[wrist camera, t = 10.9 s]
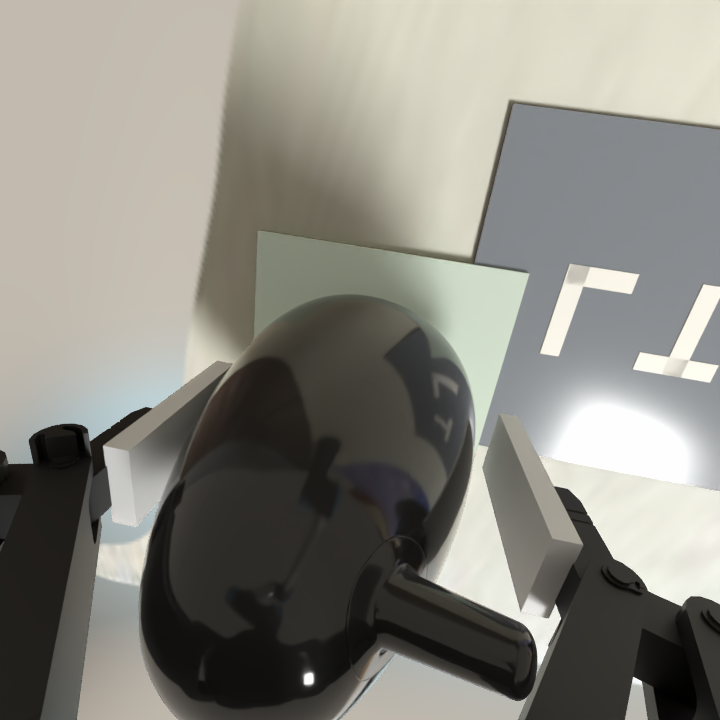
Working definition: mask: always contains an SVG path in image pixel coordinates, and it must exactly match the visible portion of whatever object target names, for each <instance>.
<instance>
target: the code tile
mask: <svg viewBox="0 0 720 720" xmlns="http://www.w3.org/2000/svg"><path fill="white" fill-rule="evenodd" d="M474 265H480V266H486V267H492V268H499V269H505V270H511V271H518V272H524V273H529V277H528V280H527V284H526V287H525V291H524V294H523V297H522V301H521V304H520V307H519V311H518V314H517V317H516V321H515V324H514V327H513V331H512V334H511V337H510V341H509V344H508V347H507V351H506V354H505V357H504V361H503V364H502V367H501V371H500V374H499V377H498V381H497V384H496V387H495V391H494V394H493V397H492V401H491V404H490V407H489V411H488V414H487V417H486V421H485V424H484V427H483V431H482V434H481V437H480V441H479V444H478V445H482V446H487V447H489V445H490V441H491V438H492V435H493V432H494V429H495V425H496V422H497V419H498V416H499V413H502V414H507V415H513V416H518V417H519V419H520V421H521V423H522V425H523V427H524V429H525V431H526V433H527V435H528V437H529V439H530V441H531V443H532V445H533V447H534V449H535V451H536V453H537V455H538V456H540V457H545V458H550V459H555V460H560V461H566V462H571V463H576V464H581V465H587V466H592V467H597V468H602V469H607V470H613V471H618V472H623V473H628V474H633V475H639V476H644V477H649V478H654V479H660V480H665V481H670V482H675V483H680V484H686V485H691V486H696V487H701V488H707V489H712V490H717V491H720V129H712V128H704V127H696V126H688V125H680V124H672V123H664V122H656V121H649V120H641V119H633V118H625V117H617V116H609V115H601V114H593V113H585V112H577V111H570V110H562V109H554V108H546V107H538V106H530V105H522V104H513V105H512V109H511V114H510V118H509V122H508V126H507V130H506V134H505V138H504V142H503V146H502V150H501V155H500V159H499V163H498V167H497V171H496V175H495V179H494V183H493V187H492V191H491V196H490V200H489V204H488V208H487V212H486V216H485V220H484V224H483V228H482V232H481V237H480V241H479V245H478V249H477V253H476V257H475V261H474Z"/></svg>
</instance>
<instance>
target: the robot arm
mask: <svg viewBox="0 0 720 720" xmlns="http://www.w3.org/2000/svg"><path fill="white" fill-rule="evenodd" d="M231 366H232V363H226V362H221V361H216V362H215V363H213V364H212V365H211V366H209V367H208V368H207V369H205V370H204V371H203V372H201V373H200V374H199V375H197V376H196V377H195V378H193V379H192V380H191V381H189V382H188V383H187V384H185V385H184V386H183V387H181V388H180V389H179V390H177V391H176V392H175V393H173V394H172V395H170V396H169V397H168V398H167V399H165V400H164V401H162V402H161V403H160V404H158V405H157V406H156V407H154V408H148V407H145V408H142V409H140V410H137V411H134V412H132V413H130V414H129V415H127V416H126V417H124V418H123V419H121V420H120V422H117V423H116V424H115V425H113V426H112V427H111V428H110V429H107V430H106V431H105V432H103V433H102V434H100V435H99V436H97V437H96V438H94V439H93V440H92V441H89V434H88V429H87V428H86V427H84V426H82V425H78V424H60V425H55V426H51V427H48V428H45V429H43V430H40V431H39V432H37V433H35V434H33V436H32V437H31V438H30V439H29V445H30V449H31V454H32V459H33V463H34V464H8V461H7V457H6V454H5V452H3V451H1V450H0V720H77V713H78V706H79V698H80V691H81V683H82V675H83V667H84V659H85V652H86V644H87V637H88V628H89V621H90V613H91V606H92V598H93V590H94V582H95V575H96V567H97V559H98V552H99V544H100V536H101V528H102V524H101V516H102V515H103V514H104V513H105V512H106V511H107V510H108V509H109V508H110V507H111V512H112V520H113V522H116V523H121V524H125V525H129V526H134V527H137V526H138V525H139V524H140V523H141V521H142V520H143V519H144V518H145V517H146V516H147V515H148V513H149V512H150V511H151V510H152V509H153V508H154V507H155V506H156V505H157V503H158V502H159V501H160V500H161V497H162V494H163V491H164V489H165V486H166V484H167V481H168V479H169V476H170V474H171V471H172V469H173V466H174V464H175V462H176V460H177V457H178V455H179V453H180V451H181V449H182V447H183V445H184V443H185V441H186V439H187V437H188V435H189V433H190V431H191V429H192V427H193V425H194V423H195V421H196V419H197V417H198V416H199V414H200V412H201V410H202V409H203V407H204V405H205V404H206V402H207V400H208V399H209V397H210V395H211V394H212V392H213V391H214V389H215V388H216V386H217V385H218V383H219V382H220V380H221V379H222V377H223V376H224V375H225V373H226V372H227V371H228V369H229V368H230V367H231ZM482 468H483V472H484V476H485V479H486V483H487V487H488V491H489V494H490V498H491V502H492V506H493V509H494V513H495V517H496V521H497V525H498V528H499V532H500V536H501V540H502V543H503V547H504V551H505V555H506V558H507V562H508V566H509V570H510V573H511V577H512V581H513V585H514V588H515V592H516V596H517V600H518V603H519V607H520V611H521V612H522V613H526V614H531V615H535V616H540V617H544V618H549V617H550V615H551V612H552V610H553V608H554V606H555V604H556V605H557V608H558V611H559V614H560V616H561V620H560V622H559V624H558V626H557V628H556V631H555V633H554V635H553V637H552V639H551V641H550V643H549V645H548V646H549V648H548V650H547V652H546V655H545V657H544V659H543V662H542V664H541V667H540V669H539V671H538V674H537V676H536V680H535V684H534V687H533V689H532V691H531V693H530V694H529V695H528V697H527V700H526V702H525V704H524V707H523V709H522V712H521V714H520V717H519V719H518V720H625V715H626V710H627V705H628V700H629V695H630V689H631V684H632V679H633V677H635V678H637V679H639V680H641V681H642V684H643V690H644V697H645V704H646V710H647V717H648V720H720V605H719V604H718V603H716V602H714V601H712V600H709V599H706V598H703V597H694V596H691V597H690V598H688V599H687V600H686V601H685V603H684V604H683V606H682V607H681V606H679V605H677V604H675V603H672V602H670V601H668V600H666V599H663V598H661V597H659V596H657V595H654V594H652V593H650V592H649V591H647V587H646V586H645V584H644V582H643V581H642V579H641V578H640V577H639V576H638V575H637V574H636V573H635V572H634V571H633V570H631V569H630V568H629V567H627V566H626V565H624V564H623V563H621V562H619V561H617V560H614V559H613V557H612V555H611V554H610V552H609V550H608V548H607V547H606V545H605V543H604V541H603V540H602V538H601V536H600V534H599V533H598V531H597V529H596V527H595V526H593V522H592V521H591V519H590V517H589V516H588V515H587V512H586V510H585V508H584V507H583V505H582V503H581V501H580V500H579V499H578V498H577V497H576V496H575V495H573V494H572V493H571V492H570V491H569V490H568V489H565V488H560V487H554V486H553V484H552V482H551V480H550V478H549V476H548V474H547V472H546V470H545V468H544V466H543V464H542V462H541V461H540V459H539V457H538V455H537V453H536V451H535V449H534V447H533V445H532V443H531V441H530V439H529V437H528V435H527V433H526V431H525V429H524V427H523V425H522V423H521V421H520V419H519V417H518V416H513V415H507V414H502V413H499V416H498V419H497V422H496V425H495V429H494V432H493V435H492V438H491V441H490V445H489V448H488V451H487V454H486V457H485V461H484V464H483V467H482Z"/></svg>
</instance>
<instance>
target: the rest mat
mask: <svg viewBox="0 0 720 720" xmlns="http://www.w3.org/2000/svg"><path fill="white" fill-rule="evenodd" d="M528 277H529V273H524V272H518V271H511V270H505V269H499V268H492V267H486V266H480V265H474V264H470V263H463V262H457V261H451V260H444V259H438V258H432V257H425V256H419V255H413V254H406V253H400V252H394V251H387V250H381V249H375V248H368V247H362V246H356V245H349V244H343V243H337V242H330V241H324V240H318V239H311V238H305V237H299V236H292V235H286V234H280V233H273V232H267V231H258V234H257V260H256V286H255V312H254V338H253V340H254V339H255V338H256V337H257V336H258V335H259V334H260V333H261V332H262V331H263V330H264V329H265V328H266V327H267V326H268V325H269V324H271V323H272V322H273V321H274V320H276V319H277V318H279V317H280V316H281V315H283V314H284V313H286V312H288V311H289V310H291V309H293V308H295V307H297V306H299V305H301V304H303V303H305V302H308V301H311V300H314V299H317V298H321V297H325V296H331V295H341V294H357V295H366V296H372V297H377V298H381V299H384V300H388V301H391V302H394V303H396V304H398V305H401V306H403V307H405V308H407V309H409V310H411V311H412V312H414V313H416V314H417V315H419V316H420V317H422V318H423V319H425V320H426V321H427V322H429V323H430V324H431V325H432V326H433V327H435V328H436V329H437V330H438V331H439V332H440V333H441V334H442V335H443V336H444V337H445V339H446V340H447V341H448V342H449V343H450V345H451V346H452V347H453V349H454V350H455V352H456V354H457V355H458V357H459V359H460V360H461V362H462V364H463V366H464V369H465V371H466V373H467V376H468V379H469V382H470V386H471V390H472V395H473V400H474V407H475V421H476V430H475V446H474V457H475V454H476V451H477V447H478V444H479V441H480V437H481V434H482V431H483V427H484V424H485V421H486V417H487V414H488V411H489V407H490V404H491V401H492V397H493V394H494V391H495V387H496V384H497V381H498V377H499V374H500V371H501V367H502V364H503V361H504V357H505V354H506V351H507V347H508V344H509V341H510V337H511V334H512V331H513V327H514V324H515V321H516V317H517V314H518V311H519V307H520V304H521V301H522V297H523V294H524V291H525V287H526V284H527V280H528ZM474 457H473V461H474Z"/></svg>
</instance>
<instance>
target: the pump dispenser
mask: <svg viewBox="0 0 720 720" xmlns="http://www.w3.org/2000/svg"><path fill="white" fill-rule="evenodd" d="M475 430H476V421H475V407H474V400H473V395H472V390H471V386H470V382H469V379H468V376H467V373H466V371H465V369H464V366H463V364H462V362H461V360H460V359H459V357H458V355H457V354H456V352H455V350H454V349H453V347H452V346H451V345H450V343H449V342H448V341H447V340H446V339H445V337H444V336H443V335H442V334H441V333H440V332H439V331H438V330H437V329H436V328H435V327H433V326H432V325H431V324H430V323H429V322H427V321H426V320H425V319H423V318H422V317H420V316H419V315H417V314H416V313H414V312H412V311H411V310H409V309H407V308H405V307H403V306H401V305H398V304H396V303H394V302H391V301H388V300H384V299H381V298H377V297H372V296H366V295H357V294H341V295H331V296H325V297H321V298H317V299H314V300H311V301H308V302H305V303H303V304H301V305H299V306H297V307H295V308H293V309H291V310H289V311H288V312H286V313H284V314H283V315H281V316H280V317H279V318H277V319H276V320H274V321H273V322H272V323H271V324H269V325H268V326H267V327H266V328H265V329H264V330H263V331H262V332H261V333H260V334H259V335H258V336H257V337H256V338H255V339H254V340H253V341H252V342H251V343H250V344H249V345H248V346H247V348H246V349H245V350H244V351H243V352H242V353H241V355H240V356H239V357H238V358H237V359H236V361H235V362H234V363H233V364H232V366H231V367H230V368H229V369H228V371H227V372H226V373H225V375H224V376H223V377H222V379H221V380H220V382H219V383H218V385H217V386H216V388H215V389H214V391H213V392H212V394H211V395H210V397H209V399H208V400H207V402H206V404H205V405H204V407H203V409H202V410H201V412H200V414H199V416H198V417H197V419H196V421H195V423H194V425H193V427H192V429H191V431H190V433H189V435H188V437H187V439H186V441H185V443H184V445H183V447H182V449H181V451H180V453H179V455H178V457H177V460H176V462H175V464H174V466H173V469H172V471H171V474H170V476H169V479H168V481H167V484H166V486H165V489H164V491H163V494H162V497H161V500H160V503H159V506H158V509H157V512H156V515H155V518H154V521H153V525H152V528H151V532H150V536H149V540H148V544H147V549H146V553H145V558H144V564H143V570H142V576H141V583H140V591H139V601H138V633H139V642H140V648H141V653H142V657H143V660H144V664H145V667H146V670H147V672H148V675H149V677H150V679H151V681H152V683H153V685H154V687H155V689H156V691H157V693H158V694H159V696H160V697H161V699H162V700H163V702H164V703H165V705H166V706H167V707H168V709H169V710H170V711H171V712H172V713H173V714H174V716H175V717H176V718H177V719H178V720H340V719H341V718H342V717H343V716H344V715H345V714H346V713H347V712H348V711H349V710H350V709H351V708H352V707H353V706H354V705H355V704H356V703H357V702H358V701H359V700H360V699H361V698H362V697H363V696H364V694H365V693H366V692H367V691H368V690H369V689H370V688H371V687H372V685H373V684H374V683H375V682H376V681H377V679H378V678H379V676H381V675H382V673H383V672H384V671H385V669H386V668H387V667H388V665H389V664H390V663H391V661H392V660H393V659H394V657H395V656H396V654H398V655H401V656H403V657H406V658H408V659H411V660H413V661H416V662H419V663H421V664H424V665H426V666H429V667H431V668H434V669H436V670H439V671H441V672H444V673H446V674H449V675H451V676H454V677H456V678H459V679H461V680H464V681H466V682H469V683H472V684H474V685H477V686H479V687H482V688H484V689H487V690H489V691H492V692H494V693H497V694H499V695H502V696H505V697H507V698H509V699H512V700H515V701H521V700H523V699H525V698H526V697H527V696H528V695H529V694H530V693H531V691H532V689H533V687H534V684H535V680H536V672H537V649H536V644H535V641H534V638H533V636H532V634H531V633H530V631H529V630H528V628H527V627H526V626H524V625H523V624H522V623H520V622H518V621H516V620H513V619H511V618H509V617H507V616H505V615H503V614H501V613H498V612H496V611H494V610H492V609H490V608H487V607H485V606H483V605H481V604H479V603H477V602H474V601H472V600H470V599H468V598H466V597H464V596H461V595H459V594H457V593H455V592H453V591H451V590H448V589H446V588H444V587H442V586H440V585H438V584H435V583H436V581H437V579H438V577H439V575H440V573H441V570H442V568H443V566H444V563H445V561H446V559H447V556H448V554H449V551H450V549H451V546H452V543H453V541H454V538H455V535H456V532H457V529H458V526H459V523H460V520H461V517H462V513H463V510H464V506H465V502H466V498H467V494H468V489H469V484H470V479H471V473H472V465H473V457H474V446H475Z"/></svg>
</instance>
